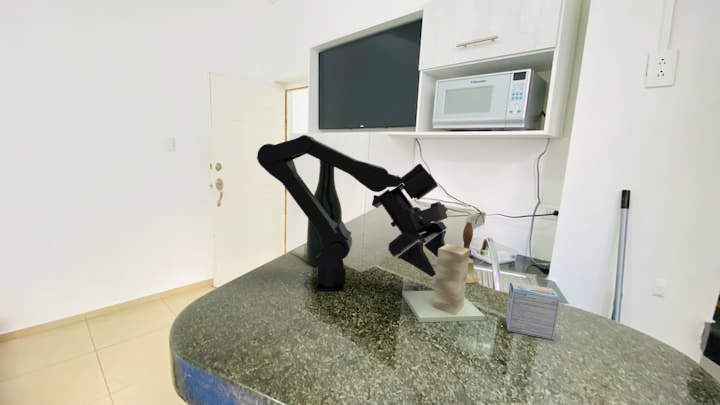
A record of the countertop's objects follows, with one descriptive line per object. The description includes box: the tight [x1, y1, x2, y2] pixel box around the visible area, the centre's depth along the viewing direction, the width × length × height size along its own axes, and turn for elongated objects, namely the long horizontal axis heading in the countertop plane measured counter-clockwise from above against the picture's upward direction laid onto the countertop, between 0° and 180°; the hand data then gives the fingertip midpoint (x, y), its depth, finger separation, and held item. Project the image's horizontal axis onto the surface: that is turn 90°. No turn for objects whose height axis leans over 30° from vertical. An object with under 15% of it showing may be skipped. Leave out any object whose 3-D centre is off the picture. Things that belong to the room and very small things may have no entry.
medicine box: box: [505, 281, 561, 341], centre depth 58 cm, size 8×4×9 cm, turn 71°
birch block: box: [433, 243, 471, 315], centre depth 63 cm, size 5×5×13 cm
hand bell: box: [462, 221, 480, 284], centre depth 83 cm, size 8×8×16 cm
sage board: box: [401, 290, 485, 323], centre depth 66 cm, size 14×12×1 cm
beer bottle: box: [305, 160, 343, 267], centre depth 88 cm, size 10×10×33 cm
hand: (442, 269), depth 64 cm, fingers open, 9 cm apart
